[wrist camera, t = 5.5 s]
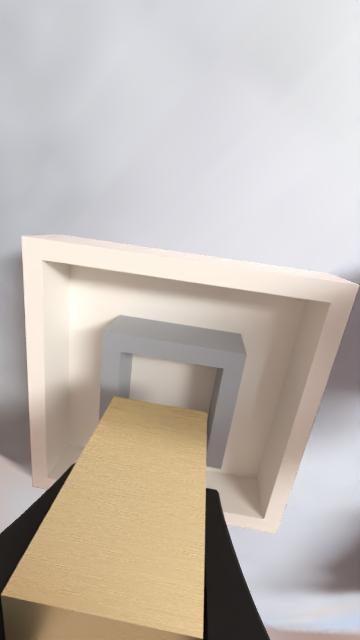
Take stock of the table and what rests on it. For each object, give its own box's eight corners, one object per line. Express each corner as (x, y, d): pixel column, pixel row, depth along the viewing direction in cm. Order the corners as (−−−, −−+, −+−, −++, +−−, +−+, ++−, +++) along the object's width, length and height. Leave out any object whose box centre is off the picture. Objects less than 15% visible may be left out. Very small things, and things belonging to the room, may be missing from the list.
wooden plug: (207, 412, 12) (202, 639, 5) (193, 484, 13) (176, 740, 7) (114, 395, 12) (0, 594, 6) (109, 468, 14) (11, 700, 7)
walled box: (328, 273, 16) (359, 285, 13) (265, 485, 22) (276, 533, 18) (58, 234, 17) (21, 236, 14) (59, 447, 22) (32, 486, 19)
